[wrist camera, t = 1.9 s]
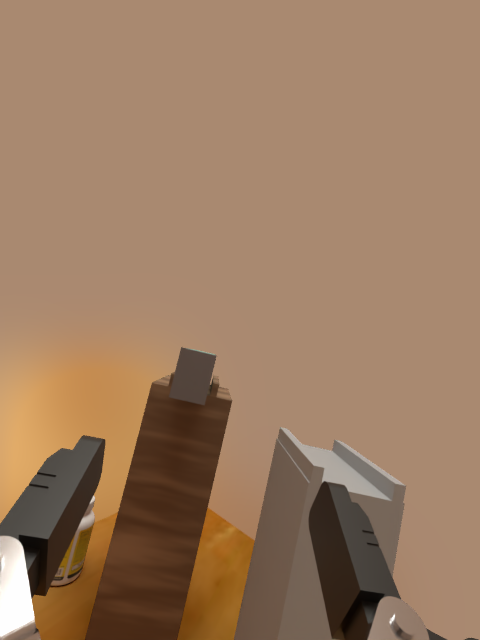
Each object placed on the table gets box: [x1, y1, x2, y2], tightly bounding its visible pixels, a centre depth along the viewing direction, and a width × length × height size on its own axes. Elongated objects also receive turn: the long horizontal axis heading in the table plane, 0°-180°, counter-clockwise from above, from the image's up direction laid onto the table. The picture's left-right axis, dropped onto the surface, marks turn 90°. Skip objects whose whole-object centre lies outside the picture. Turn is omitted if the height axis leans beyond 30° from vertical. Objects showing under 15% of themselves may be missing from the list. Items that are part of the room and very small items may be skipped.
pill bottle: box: [51, 495, 95, 586], centre depth 50 cm, size 6×6×11 cm
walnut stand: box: [85, 372, 232, 640], centre depth 46 cm, size 14×10×34 cm
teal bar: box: [169, 348, 216, 405], centre depth 45 cm, size 24×4×5 cm, turn 4°
